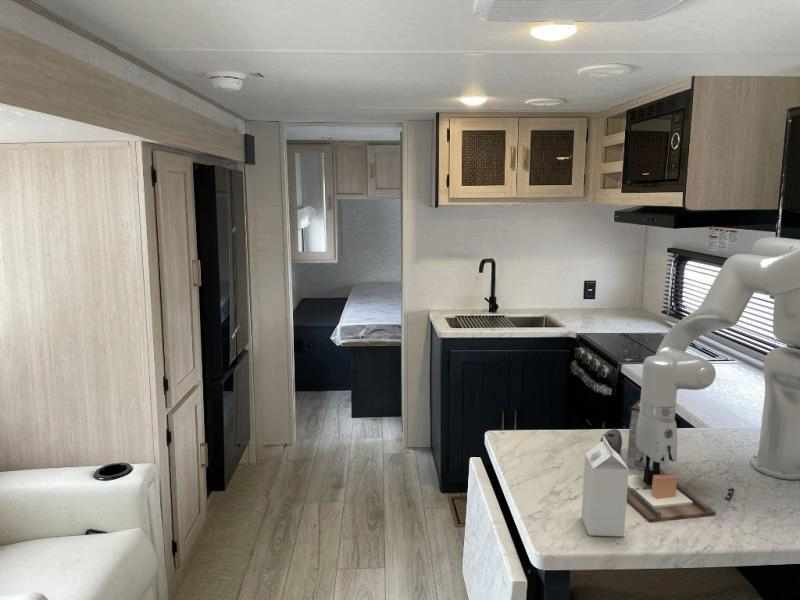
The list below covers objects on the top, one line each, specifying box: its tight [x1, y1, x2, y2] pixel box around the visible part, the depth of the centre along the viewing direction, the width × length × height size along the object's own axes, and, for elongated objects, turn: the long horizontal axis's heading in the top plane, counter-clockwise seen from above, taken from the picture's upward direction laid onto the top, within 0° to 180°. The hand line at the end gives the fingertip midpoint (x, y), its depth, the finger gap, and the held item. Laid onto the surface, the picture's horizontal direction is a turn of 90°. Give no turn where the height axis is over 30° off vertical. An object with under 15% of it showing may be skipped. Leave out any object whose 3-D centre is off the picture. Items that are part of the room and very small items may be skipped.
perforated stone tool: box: [600, 428, 623, 455], centre depth 163 cm, size 15×5×7 cm, turn 150°
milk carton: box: [580, 435, 630, 537], centre depth 127 cm, size 7×7×19 cm
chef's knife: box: [711, 487, 735, 521], centre depth 138 cm, size 19×1×3 cm
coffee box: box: [626, 398, 646, 472], centre depth 157 cm, size 9×6×16 cm
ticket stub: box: [637, 472, 693, 508], centre depth 138 cm, size 10×7×6 cm
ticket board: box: [626, 472, 716, 523], centre depth 141 cm, size 16×19×2 cm
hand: (651, 483), depth 143 cm, fingers closed
